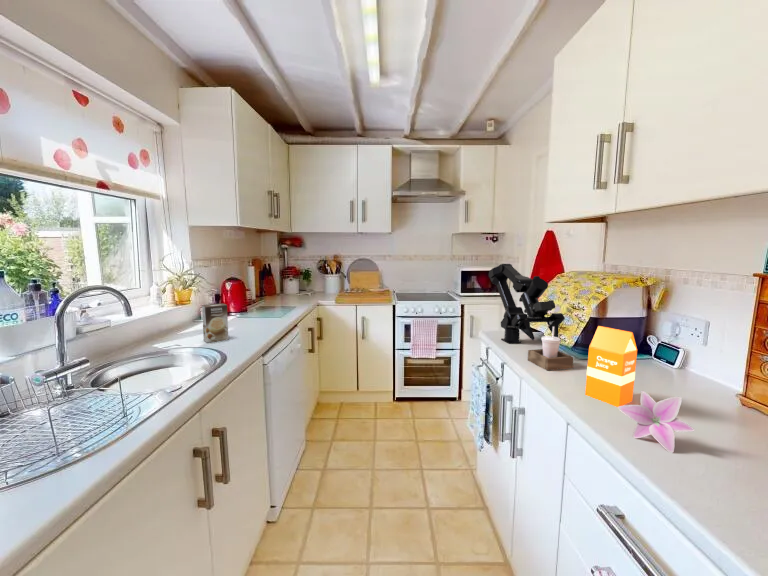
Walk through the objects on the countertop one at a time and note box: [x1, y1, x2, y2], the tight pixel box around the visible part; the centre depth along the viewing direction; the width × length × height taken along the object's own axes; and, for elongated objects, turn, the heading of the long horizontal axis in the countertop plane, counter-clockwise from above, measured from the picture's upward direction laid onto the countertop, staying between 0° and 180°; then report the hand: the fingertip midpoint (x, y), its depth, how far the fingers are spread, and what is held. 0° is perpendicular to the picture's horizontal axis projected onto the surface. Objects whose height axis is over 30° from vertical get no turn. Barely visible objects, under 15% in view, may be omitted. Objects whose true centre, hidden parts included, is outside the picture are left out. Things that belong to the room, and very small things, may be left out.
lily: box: [617, 390, 696, 454], centre depth 74 cm, size 12×12×10 cm
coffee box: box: [201, 303, 229, 344], centre depth 149 cm, size 9×6×16 cm
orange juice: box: [584, 325, 638, 407], centre depth 92 cm, size 8×9×20 cm
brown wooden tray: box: [527, 348, 574, 371], centre depth 120 cm, size 10×10×4 cm
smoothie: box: [541, 327, 562, 358], centre depth 119 cm, size 6×6×14 cm
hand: (545, 339), depth 123 cm, fingers open, 9 cm apart
